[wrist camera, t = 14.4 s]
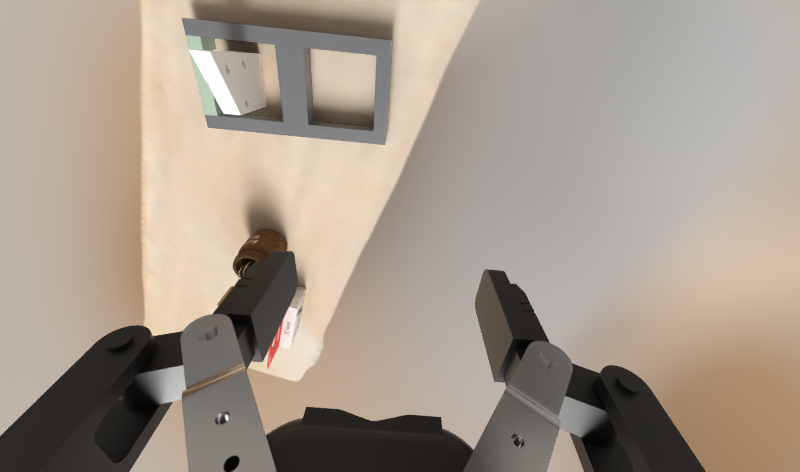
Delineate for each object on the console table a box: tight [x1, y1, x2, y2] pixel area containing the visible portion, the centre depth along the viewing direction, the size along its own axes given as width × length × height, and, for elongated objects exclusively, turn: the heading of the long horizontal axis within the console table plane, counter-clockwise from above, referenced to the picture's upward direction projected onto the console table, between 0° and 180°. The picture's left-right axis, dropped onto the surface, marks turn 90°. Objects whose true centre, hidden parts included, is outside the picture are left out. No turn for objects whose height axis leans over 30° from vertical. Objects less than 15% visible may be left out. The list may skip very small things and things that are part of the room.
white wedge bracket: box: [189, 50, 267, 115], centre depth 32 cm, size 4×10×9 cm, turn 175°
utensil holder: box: [218, 230, 287, 306], centre depth 43 cm, size 6×6×12 cm
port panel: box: [182, 18, 393, 145], centre depth 35 cm, size 11×22×2 cm, turn 85°
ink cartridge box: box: [267, 286, 306, 369], centre depth 51 cm, size 2×11×10 cm, turn 163°
